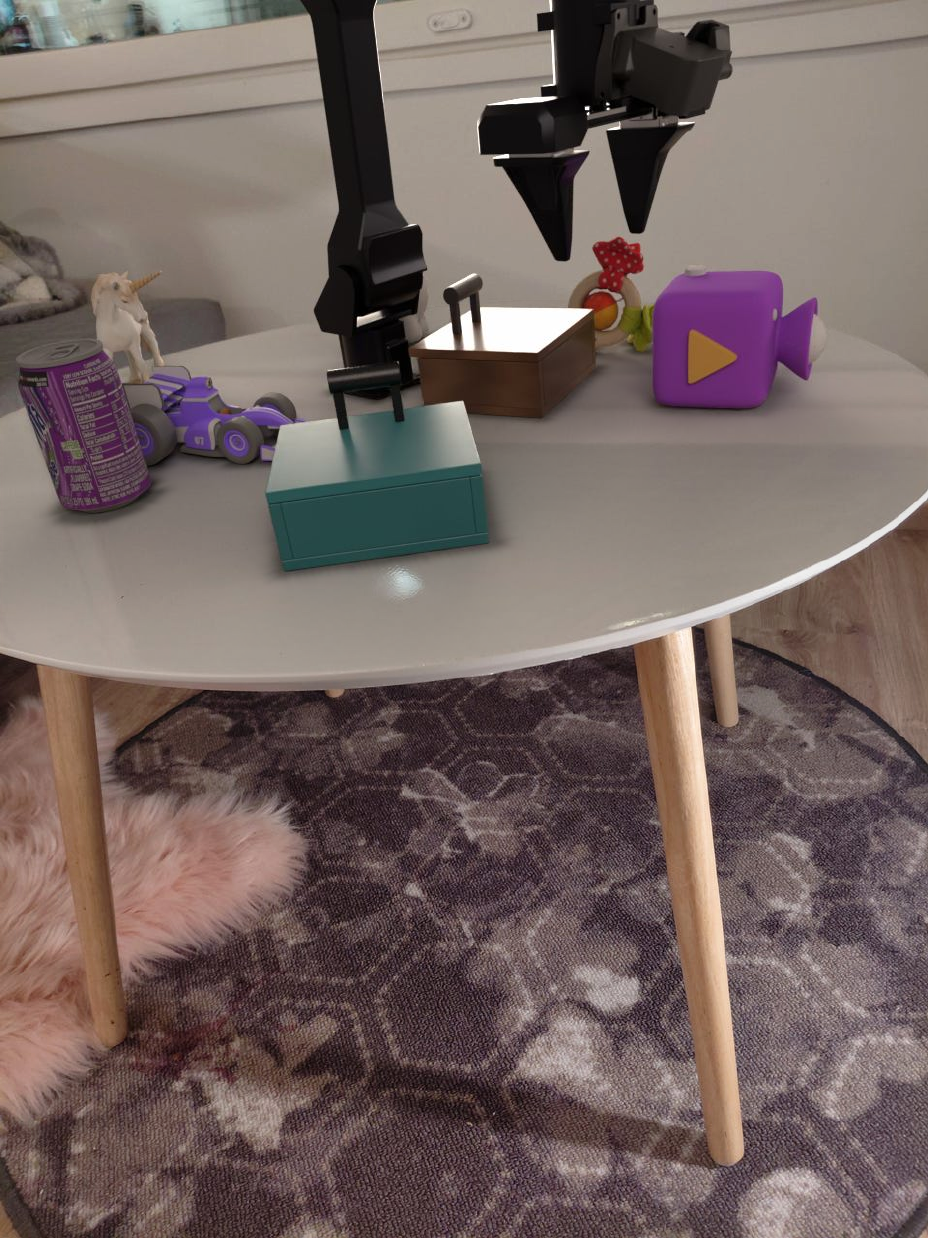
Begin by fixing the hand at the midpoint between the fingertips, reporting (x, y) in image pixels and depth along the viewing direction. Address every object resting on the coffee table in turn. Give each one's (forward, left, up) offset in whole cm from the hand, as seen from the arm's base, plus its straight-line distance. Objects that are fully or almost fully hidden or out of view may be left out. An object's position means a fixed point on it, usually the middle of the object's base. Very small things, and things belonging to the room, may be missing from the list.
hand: (601, 246), depth 68 cm
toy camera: (+4, +13, -15) cm, 20 cm away
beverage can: (-28, -29, -15) cm, 43 cm away
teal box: (-5, -20, -15) cm, 25 cm away
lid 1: (-5, -20, -10) cm, 23 cm away
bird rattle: (-13, +20, -15) cm, 28 cm away
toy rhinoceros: (-39, +16, -15) cm, 44 cm away
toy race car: (-29, -17, -15) cm, 37 cm away
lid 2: (-15, +6, -10) cm, 19 cm away
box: (-15, +6, -15) cm, 22 cm away
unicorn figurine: (-49, -10, -15) cm, 52 cm away
